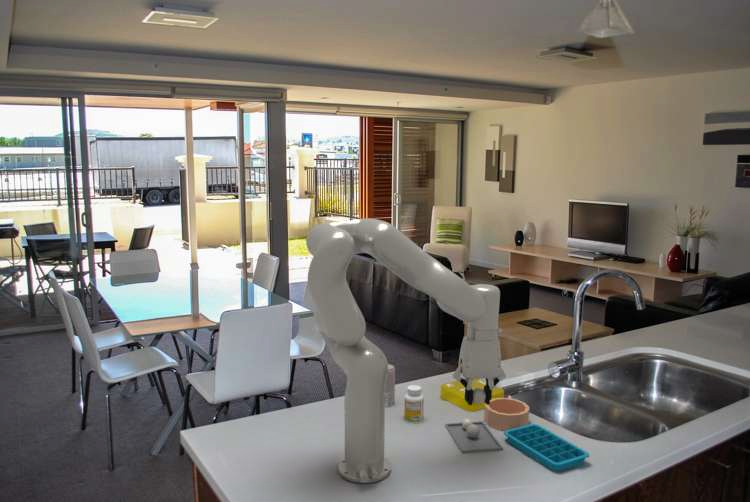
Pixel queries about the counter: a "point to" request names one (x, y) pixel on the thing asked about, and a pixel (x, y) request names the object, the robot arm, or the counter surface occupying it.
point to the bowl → (506, 414)
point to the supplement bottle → (414, 404)
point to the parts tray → (470, 445)
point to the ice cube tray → (546, 447)
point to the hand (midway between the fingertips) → (477, 402)
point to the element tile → (456, 394)
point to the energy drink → (390, 387)
